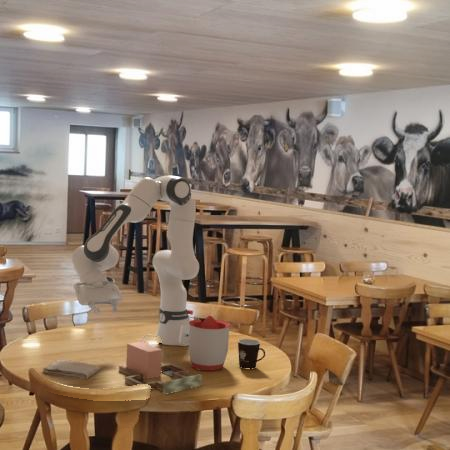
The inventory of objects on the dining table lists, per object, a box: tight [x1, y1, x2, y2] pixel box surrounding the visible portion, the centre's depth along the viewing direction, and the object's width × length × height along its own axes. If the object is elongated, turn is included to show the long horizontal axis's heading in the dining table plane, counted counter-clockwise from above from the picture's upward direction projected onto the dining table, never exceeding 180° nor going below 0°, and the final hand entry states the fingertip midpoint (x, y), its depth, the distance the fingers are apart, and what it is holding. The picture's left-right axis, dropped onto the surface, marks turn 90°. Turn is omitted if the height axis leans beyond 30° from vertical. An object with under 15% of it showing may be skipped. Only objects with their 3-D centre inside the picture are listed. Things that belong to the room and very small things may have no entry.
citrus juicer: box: [188, 315, 231, 371], centre depth 261 cm, size 16×17×20 cm
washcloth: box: [42, 359, 101, 380], centre depth 246 cm, size 12×18×3 cm, turn 75°
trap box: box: [118, 363, 202, 395], centre depth 243 cm, size 24×29×4 cm
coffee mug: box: [237, 338, 266, 370], centre depth 262 cm, size 12×9×10 cm
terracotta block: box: [125, 341, 163, 380], centre depth 248 cm, size 6×13×10 cm, turn 44°
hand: (106, 312), depth 263 cm, fingers open, 8 cm apart
